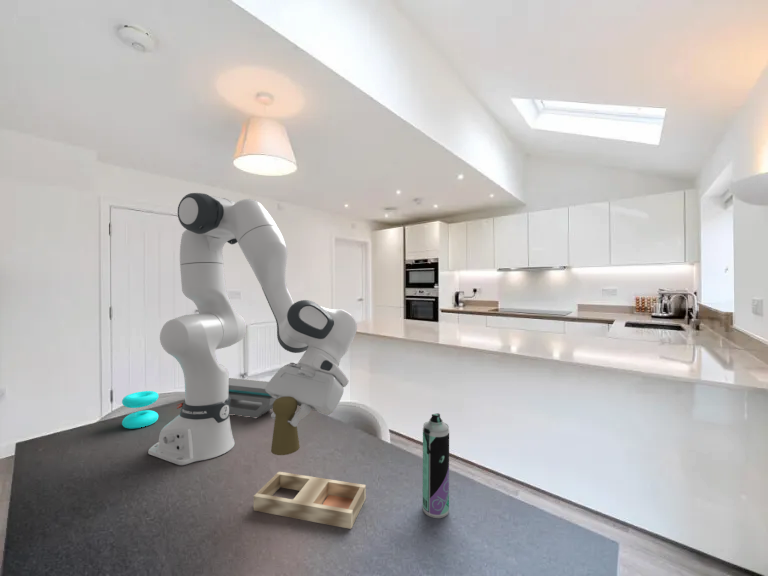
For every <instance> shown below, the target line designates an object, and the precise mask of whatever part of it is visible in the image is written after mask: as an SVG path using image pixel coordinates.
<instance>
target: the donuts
mask: <svg viewBox="0 0 768 576" xmlns="http://www.w3.org/2000/svg"><path fill="white" fill-rule="evenodd" d="M159 398H160V397H159V393H158V392H157V391H153V390H142V391H137V392H133V393H130V394H127V395H126V396H124V397H123V399H122V401H121V404H122V405H123V406H124V407H125V408H128V409H129V408H130V409H137V408H144V407H147V406H150V405H153V404H154V403H156V402H157V401H158V399H159ZM158 419H159V414H158V412H156V411H155V410H150V409H147V410H146V409H145V410H138V411H134V412H132V413H130V414H127V416H125V417H123V419H122V422H121V425H122V426H123V428H125V429H130V430H131V429H141V427H142V428H146V427H149V426H151V425H153V424H154V423H156V422H157V421H158ZM145 426H146V427H145Z"/></svg>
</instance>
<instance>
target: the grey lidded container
mask: <svg viewBox="0 0 768 576" xmlns="http://www.w3.org/2000/svg"><path fill="white" fill-rule="evenodd" d="M268 382H269V381H265V380H264V381H263V380H253V379H243V378H234V377H233V378H232V377H229V396H230V413H229V414H235V415H242V416H250V417H258V418H259V416H260V415H261V416H263V415H265V414H266V413H265V412H267V411H268V412H270V411H271V410H273V403H274V401H275V400H276V398H273V397H272V396H270V395H269V394H268V393H267V392H266V391H265V389H266V385H267V384H268ZM270 409H271V410H270ZM269 410H270V411H269ZM268 412H267V413H268ZM264 413H265V414H264ZM262 414H263V415H262ZM261 416H260V417H261Z"/></svg>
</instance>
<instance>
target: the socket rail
mask: <svg viewBox="0 0 768 576" xmlns="http://www.w3.org/2000/svg"><path fill="white" fill-rule="evenodd" d="M280 488H281V489H282V488H283V489H288V490H295V491H299V492H297V494H296V495H295V497H294V498H286V497H281V496H276V495H275V494H276V493H277V491H278V490H279V489H280ZM366 489H367V484H363V483H362V484H361V483H354V482H348V481H343V480H336V479H330V478H324V477H323V478H322V477H315V476H311V475H304V474H298V473H297V474H296V473H290V472H284V471H277V472H276V473H275V474H274V476H273V477H272V478H270V480H269V481H267V482H266V483H265V484H264V485H263V486H262V487H261V488H260V489H259V490H258V491H257V492H256V493H255V494H254V495H253V512H254V511H255V512H260V513H266V514H270V515H275V516H276V515H277V516H282V517H285V518H286V517H287V518H291V519H292V518H293V519H298V520H301V521H308V522H313V523H318V524H322V525H328V526H334V527H339V528H343V529H350V530H352V528H353V526H354V525H355V522H356V521H357V517H358V515H359V513H360V512H361V510H362V507H363V505H364V503H365V502H366V498H367V492H366V491H367V490H366Z"/></svg>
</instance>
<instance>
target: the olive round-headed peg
mask: <svg viewBox="0 0 768 576" xmlns="http://www.w3.org/2000/svg"><path fill="white" fill-rule="evenodd" d="M297 409H298V405H297V401H296V399H295V398H293V397H289V396H286V397H280V398H278V399H276V400H275V401H274V403H273V408H272V413H273V412H274V413H275V414H276V415H275V419H274V422H273V423H274V425H273V433H272V441H271V449H270V452H271V453H272V454H273V455H275V456H286V455H287V456H288V455H291V454H293V453H296V452H297V451H299V450H300V447H301V445H300V439H299V433H298V427H297V426H298V425H297V426H296V427H294V426H291V425H290V424H289V423H288V422H287V421H288V419H289V418H290V416H291V415H295V414H296V411H297Z"/></svg>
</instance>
